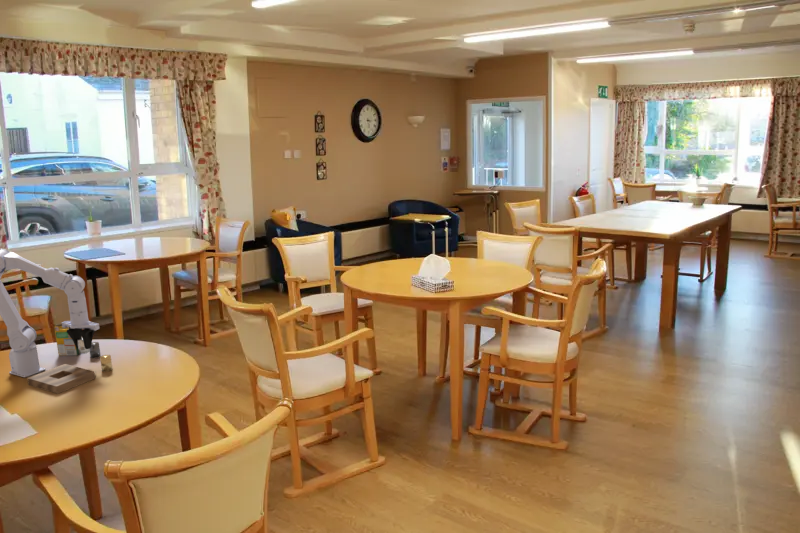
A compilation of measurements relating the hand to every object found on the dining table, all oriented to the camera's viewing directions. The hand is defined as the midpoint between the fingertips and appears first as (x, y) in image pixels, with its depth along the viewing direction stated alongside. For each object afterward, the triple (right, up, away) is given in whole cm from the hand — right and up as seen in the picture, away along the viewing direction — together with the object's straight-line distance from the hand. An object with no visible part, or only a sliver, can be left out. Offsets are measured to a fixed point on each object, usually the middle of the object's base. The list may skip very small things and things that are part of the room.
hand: (83, 347), depth 247 cm
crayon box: (-12, -4, +14) cm, 19 cm away
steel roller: (0, -2, 0) cm, 2 cm away
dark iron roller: (-1, -4, +11) cm, 12 cm away
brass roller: (+9, -7, -2) cm, 12 cm away
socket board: (-2, -10, -12) cm, 16 cm away
